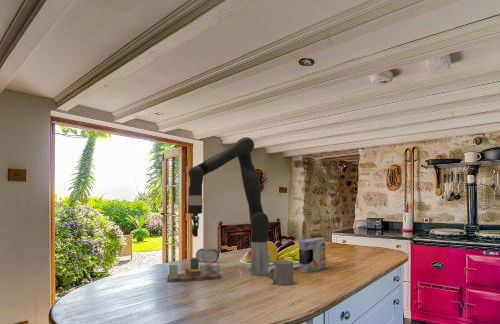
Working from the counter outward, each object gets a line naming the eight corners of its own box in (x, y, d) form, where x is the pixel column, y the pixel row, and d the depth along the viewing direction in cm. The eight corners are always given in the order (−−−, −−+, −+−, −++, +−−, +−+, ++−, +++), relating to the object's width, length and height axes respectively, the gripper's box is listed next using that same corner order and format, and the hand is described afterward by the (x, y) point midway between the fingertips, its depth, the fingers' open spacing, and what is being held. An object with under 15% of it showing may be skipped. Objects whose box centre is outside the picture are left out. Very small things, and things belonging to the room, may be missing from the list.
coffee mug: (289, 279, 172) (288, 259, 173) (296, 284, 163) (296, 263, 164) (263, 281, 169) (263, 260, 170) (269, 286, 160) (269, 264, 161)
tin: (219, 261, 219) (219, 248, 220) (218, 262, 216) (218, 249, 217) (196, 261, 221) (196, 248, 222) (195, 262, 218) (195, 248, 219)
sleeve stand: (218, 274, 183) (218, 262, 184) (221, 279, 174) (221, 266, 174) (167, 277, 177) (167, 264, 178) (167, 282, 167) (168, 268, 168)
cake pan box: (304, 273, 185) (303, 240, 187) (297, 272, 189) (296, 239, 191) (326, 269, 197) (325, 238, 199) (319, 267, 201) (319, 237, 203)
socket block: (177, 274, 177) (177, 261, 178) (177, 278, 170) (177, 264, 170) (168, 275, 176) (169, 262, 177) (169, 278, 169) (169, 265, 169)
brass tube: (217, 271, 180) (217, 256, 181) (218, 272, 177) (218, 257, 178) (185, 273, 176) (185, 258, 177) (185, 274, 173) (185, 259, 174)
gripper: (203, 204, 173) (203, 237, 172) (201, 204, 187) (200, 234, 185) (189, 204, 171) (188, 237, 170) (187, 204, 185) (186, 234, 184)
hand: (194, 235), depth 178 cm, fingers open, 8 cm apart
